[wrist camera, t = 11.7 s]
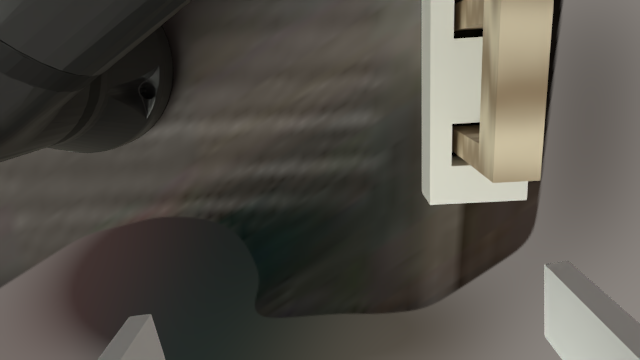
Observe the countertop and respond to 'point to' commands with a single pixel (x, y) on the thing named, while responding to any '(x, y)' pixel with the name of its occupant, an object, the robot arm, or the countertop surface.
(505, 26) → the clip
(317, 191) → the countertop surface
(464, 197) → the white flat block
